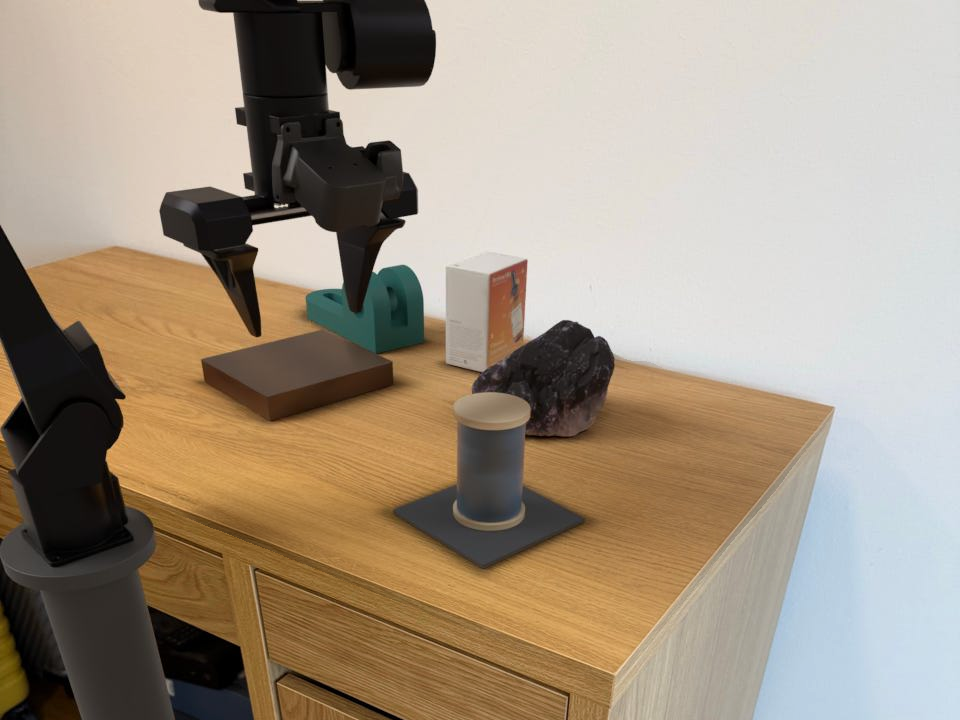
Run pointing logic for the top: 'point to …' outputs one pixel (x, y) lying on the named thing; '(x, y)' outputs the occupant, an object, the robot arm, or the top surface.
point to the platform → (297, 373)
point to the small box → (484, 309)
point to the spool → (490, 460)
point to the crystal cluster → (555, 378)
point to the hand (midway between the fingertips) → (307, 323)
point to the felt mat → (487, 545)
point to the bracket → (375, 311)
